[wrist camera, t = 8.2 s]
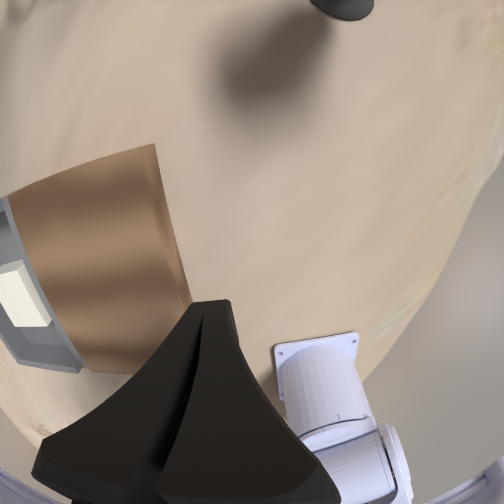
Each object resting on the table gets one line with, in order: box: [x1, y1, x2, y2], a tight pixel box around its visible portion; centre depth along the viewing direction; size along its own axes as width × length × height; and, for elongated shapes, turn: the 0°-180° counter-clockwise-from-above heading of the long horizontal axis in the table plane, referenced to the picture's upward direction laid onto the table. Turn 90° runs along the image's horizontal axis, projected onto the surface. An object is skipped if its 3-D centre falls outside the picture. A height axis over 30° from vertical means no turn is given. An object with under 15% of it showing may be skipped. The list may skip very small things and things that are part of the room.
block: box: [0, 259, 52, 327], centre depth 19 cm, size 6×6×2 cm
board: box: [7, 144, 193, 374], centre depth 19 cm, size 18×12×3 cm, turn 7°
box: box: [0, 187, 88, 374], centre depth 19 cm, size 18×12×4 cm, turn 7°
